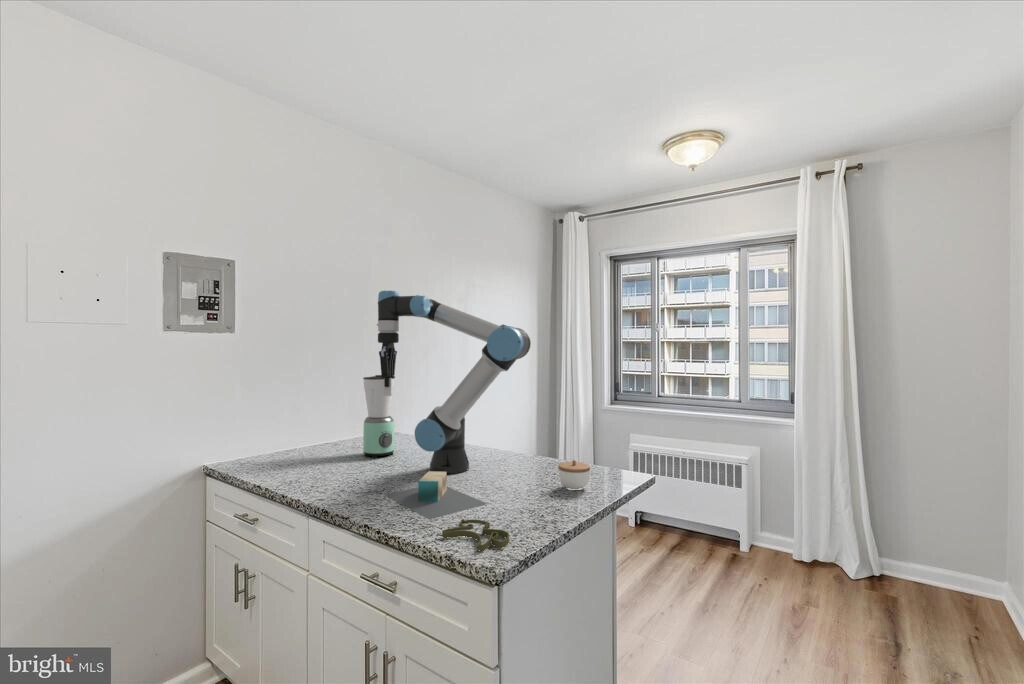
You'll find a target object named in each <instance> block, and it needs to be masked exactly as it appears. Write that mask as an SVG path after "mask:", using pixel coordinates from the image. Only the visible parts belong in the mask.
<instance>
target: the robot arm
mask: <svg viewBox="0 0 1024 684" xmlns="http://www.w3.org/2000/svg"><path fill="white" fill-rule="evenodd" d="M377 297H378V298H377V315H378V317H377V324H376V326H377V331H378V334H377V342H378V343H379V344H382V345H381V350H379V351H378V354H379V361H380V375H382V377H381V378H384V396H392V397H393V395H392V378H394V379H396V376H395V372H396V361H397V356H398V355H397V354H398V351H397V350H396V347H395V344H397V343H399V337H400V336H399V330H400V329H399V328H400V327H399V326H400V323H399V322H400V321H399V319H400V318H399V317H415V318H424V319H427V320H428V321H429V320H430V321H432V322H435V323H438V324H441V325H443V326H446V327H448V328H450V329H452V330H455V331H458V332H461V333H463V334H465V335H468V336H469V337H473V338H475V339H478V340H480V341H483V342H485V343H486V344H485V345H484V346H483V347H482V349H481V357H480V358H479V359H478V361H477V362H476V363H475V365H473V367H472V368H471V369H470V371H469V372H468V373H467V375H465V377H464V378H463V379H462V380H461V382H460V383H459V384H458V385H457V387H456V388H455V389H454V391H453V392H452V393H451V394H450V395H449V396H448V398H447V399H446V400H445V401H444V403H443V404H442V405H441V406H435V407H434V408H433V410H432V411H431V412H430V413H429V414H428V415H427V417H426V418H424V419H421V420H419V422H418V423H417V425H416V426H415V428H414V440H415V442H416V444H417V445H418V446H419V447H420V449H422V450H424V451H426V452H433V453H432V457H431V460H430V463H429V471H430V470H431V471H441V472H447V473H454V474H458V473H457V472H461V473H463V472H462V471H465V470H467V469H468V470H469V469H470V462H469V458H468V456H467V451H466V448H465V445H466V443H465V441H466V440H465V439H466V437H465V435H466V434H465V433H466V432H465V431H466V429H465V428H466V427H465V426H466V425H465V424H466V418H465V416H466V415H467V413H469V411H470V410H471V409H472V408H473V406H474V405H475V404H476V402H478V400H479V399H480V398H481V397H482V396H483V394H484V393H485V392H486V390H487V389H488V388H489V387H490V385H492V383H493V382H494V381H495V380H496V378H497V377H498V376H499V375H500V373H501V372H502V373H503V372H508V371H509V370H510V368H511V367H512V366H513V365H514V363H515V362H516V361H517V360H519V359H522V358H524V357H525V356H527V354H528V353H529V351H530V349H531V337H530V336H529V334H528V333H527V332H526V331H525V330H524V329H522V328H519V327H514V326H510V325H506V324H504V323H503V324H501V325H498V324H496V323H493V322H491V321H487V320H485V319H483V318H480V317H478V316H475V315H473V314H472V315H471V314H470V313H467V312H464V311H461V310H459V309H456V308H454V307H451V306H448V305H445V304H444V303H441V302H438V301H436V300H434V299H432V298H430V299H429V297H428V296H427V295H419V294H416V295H400V293H399V292H398V291H396V290H381V291H379V292H378V296H377ZM468 470H467V471H468ZM465 472H466V471H465Z"/></svg>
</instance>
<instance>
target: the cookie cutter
mask: <svg viewBox="0 0 1024 684" xmlns="http://www.w3.org/2000/svg"><path fill="white" fill-rule="evenodd" d="M463 523H464V524H466V525H464V524H463ZM467 523H468V524H467ZM472 523H480V524H484V526H483V527H482V535H483V534H486V535H485V536H487V535H491V536H489V538H488V540H487V541H486V542H484V543H482V537H481V535H480V534H479V533H477V532H474V531H471V530H472V529H474V524H472ZM488 528H489V529H488ZM441 534H442V535H441V536H443V537H444V539H445V538H446V539H448V538H447V537H454V538H458V537H457V536H465V537H464V538H467V537H472V538H475V539H477V540H478V541H479V542H478V541H477V540H476V541H477V542H478V543H477V551H478V550H480V551H484V550H485V549H487V548H488V549H489V547H490V546H491V545H492V544H493V545H495V546H497V547H496V548H498V547H500V548H499V549H501V548H502V547H504V546H506V545H507V544H508V543H509V544H510V533H509V532H508V531H506V530H504V529H497V528H495V529H494V528H490V522H489V521H485V520H482V519H466V520H465V519H460V522H459V526H457V527H451V528H446V529H443V530H442V531H441ZM498 535H499V536H498ZM466 536H467V537H466ZM500 536H503V537H502V538H504V537H506V538H504V540H499V537H500ZM443 537H442V538H443ZM472 538H471V539H472ZM475 539H474V540H475ZM491 542H492V543H491ZM490 544H491V545H490ZM509 544H508V545H509ZM489 545H490V546H489ZM493 545H492V546H493ZM508 545H507V546H508ZM488 546H489V547H488ZM495 546H494V547H495ZM507 546H506V547H507ZM504 548H505V547H504ZM488 549H487V550H488ZM502 549H503V548H502ZM480 551H479V552H480ZM485 551H486V550H485ZM485 551H484V552H485Z"/></svg>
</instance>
